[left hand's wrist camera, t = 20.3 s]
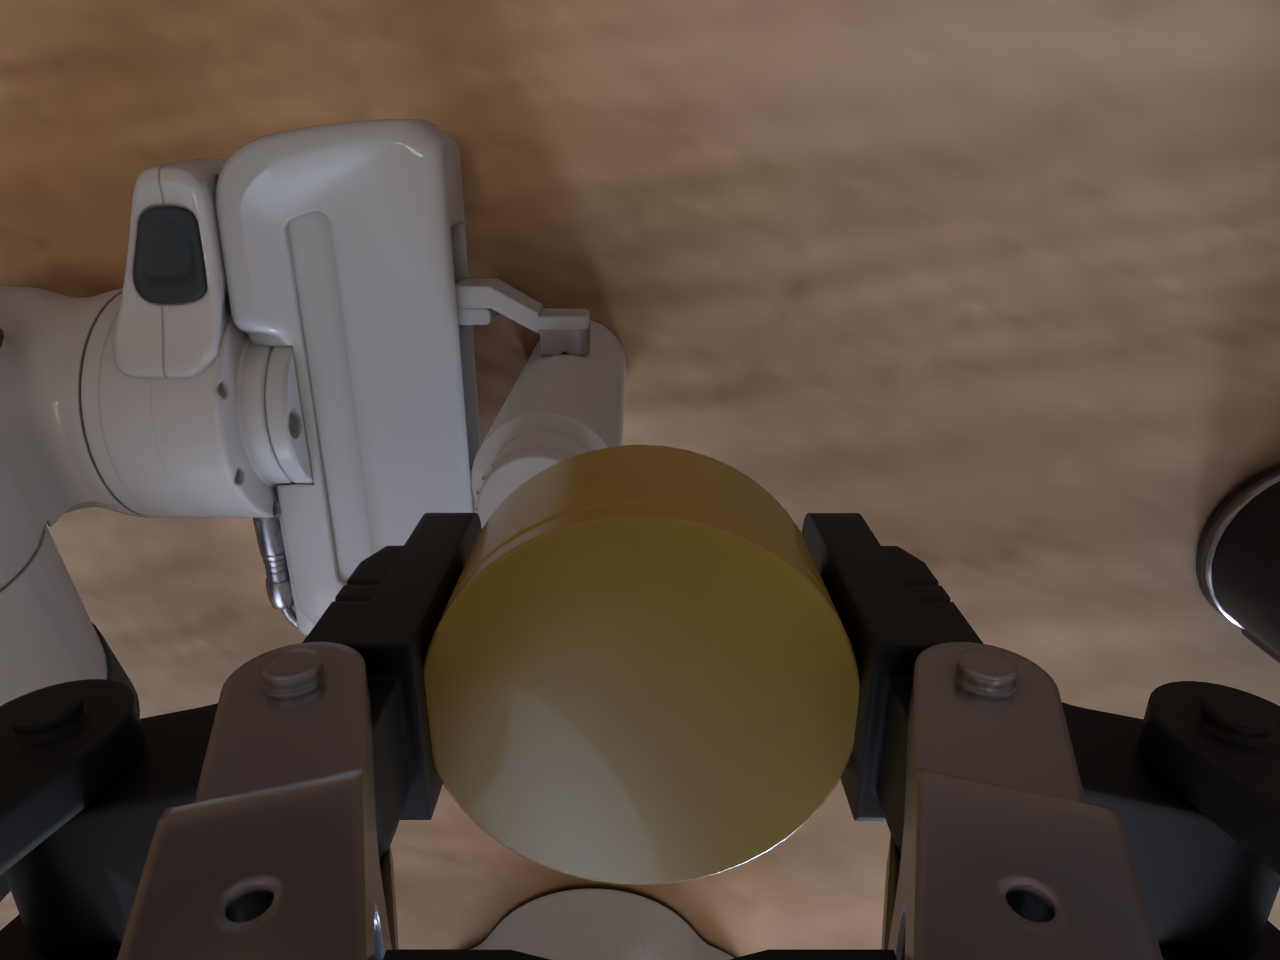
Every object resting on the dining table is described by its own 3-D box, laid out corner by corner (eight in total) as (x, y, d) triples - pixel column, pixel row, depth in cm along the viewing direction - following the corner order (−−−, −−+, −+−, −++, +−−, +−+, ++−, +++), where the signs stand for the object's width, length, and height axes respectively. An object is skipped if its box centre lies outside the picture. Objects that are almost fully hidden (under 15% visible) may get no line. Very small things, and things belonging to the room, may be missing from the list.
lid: (644, 810, 12) (644, 947, 10) (389, 614, 11) (328, 723, 9) (891, 607, 11) (952, 716, 9) (636, 364, 10) (635, 418, 7)
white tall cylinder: (568, 298, 37) (515, 403, 21) (644, 355, 38) (651, 497, 22) (514, 374, 38) (425, 528, 22) (590, 428, 39) (558, 611, 23)
